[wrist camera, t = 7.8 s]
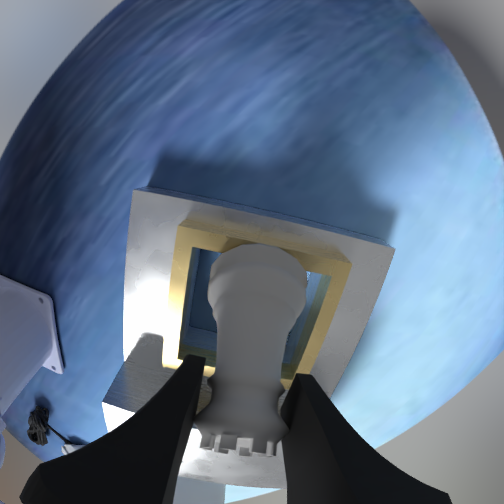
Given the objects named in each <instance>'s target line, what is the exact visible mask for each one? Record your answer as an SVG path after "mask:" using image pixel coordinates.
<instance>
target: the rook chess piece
mask: <svg viewBox="0 0 504 504" xmlns="http://www.w3.org/2000/svg"><path fill="white" fill-rule="evenodd" d="M306 287H307V273H306V271H305V270H304V268H303V267H302V265H301V264H300V263H299V261H298V260H297V259H296V258H294V257H293V256H292V255H290V254H289V253H287V252H285V251H283V250H282V249H280V248H278V247H275V246H271V245H266V244H262V243H256V244H243V245H240V246H238V247H236V248H234V249H231V250H229V251H227V252H225V253H223V254H221V255H220V256H219V257H218V258H217V259H216V261H215V262H214V263H213V264H212V265H211V272H210V280H209V284H208V292H207V294H208V301H209V303H210V305H211V307H212V309H213V314H212V315H213V317H214V319H215V321H216V322H217V331H218V333H217V360H216V366H215V371H214V374H213V375H212V376H211V377H209V378H208V379H207V385H208V387H209V389H210V390H211V400H210V403H209V404H208V405H207V406H206V407H205V408H203V409H202V410H201V411H200V412H199V413H198V414H197V415H196V416H194V417H193V421H194V423H195V425H196V427H197V428H198V430H199V432H200V434H201V435H202V437H201V443H200V448H202V449H204V450H211V451H212V448H214V452H217V453H222V454H228V452H229V450H235V451H236V447H240V450H239V456H246V457H252V455H253V453H259V454H258V457H272V456H276V453H277V444H278V443H279V442H280V441H281V440H282V439H283V437H284V436H285V435H286V434H287V433H288V432H289V431H290V430H289V428H288V427H287V425H286V424H285V422H284V421H283V419H282V418H281V416H280V415H279V413H278V406H277V405H278V401H279V398H280V397H281V396H282V395H283V394H284V392H285V388H284V386H283V384H282V383H281V382H280V380H281V365H282V361H283V356H284V351H285V346H286V341H287V336H288V334H289V331H290V330H291V329H292V328H293V326H294V324H295V323H296V319H297V318H298V317H299V315H300V314H301V312H302V310H303V309H304V306H305V303H306V290H305V289H306Z"/></svg>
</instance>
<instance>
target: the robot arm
mask: <svg viewBox="0 0 504 504" xmlns="http://www.w3.org/2000/svg"><path fill="white" fill-rule="evenodd" d="M42 299H43V300H42ZM205 362H206V358H205V357H200V356H196V355H191V354H188V355H186V356H185V358H184V360H183V361H182V363H181V364H180V366H179V367H178V368H177V370H176V371H175V372H174V374H173V375H172V376H171V377H170V379H169V380H168V381H167V382H166V383H165V384H164V385H163V387H162V388H161V389H160V390H159V391H158V392H157V393H156V394H155V395H154V396H153V397H152V398H151V399H150V400H149V401H148V402H147V403H146V404H145V405H144V406H143V407H142V408H140V409H139V410H138V411H137V412H136V413H135V414H133V415H132V416H131V417H130V418H128V419H127V420H126V421H124V422H123V423H122V424H120V425H119V426H117V427H116V428H114V429H113V430H111V431H110V432H108V433H107V434H105V435H104V436H102V437H100V438H99V439H97V440H95V441H93V442H91V443H89V444H87V445H85V446H83V447H82V448H80V449H78V450H76V451H73V452H71V453H69V454H66V455H64V456H61V457H58V458H55V459H53V460H50V461H47V462H44V463H41V464H40V465H39V466H38V467H37V468H36V469H35V471H34V472H33V473H32V475H31V476H30V477H29V479H28V481H27V483H26V485H25V487H24V489H23V491H22V493H21V495H20V500H21V502H22V503H23V504H173V500H174V494H175V489H176V483H177V478H178V474H179V470H180V466H181V463H182V459H183V456H184V453H185V450H186V447H187V443H188V440H189V437H190V434H191V430H192V427H193V424H194V421H193V417H194V416H196V411H197V406H198V401H199V396H200V390H201V384H202V379H203V373H204V367H205ZM41 366H44V367H46V368H48V369H50V370H52V371H54V372H56V373H59V374H62V373H63V372H64V367H63V362H62V358H61V353H60V348H59V342H58V336H57V330H56V324H55V317H54V309H53V301H52V299H51V297H50V296H49V295H47V294H44V293H42V292H39V291H37V290H34V289H32V288H29V287H27V286H25V285H22V284H20V283H18V282H15V281H13V280H11V279H9V278H6V277H4V276H2V275H0V469H1V467H2V464H3V461H4V456H5V440H4V437H3V435H2V434H1V433H2V431H3V430H4V428H5V427H6V424H5V423H4V422H3V420H2V419H1V417H2V415H3V414H4V413H5V411H6V410H7V409H8V407H9V406H10V405H11V403H12V402H13V401H14V399H15V398H16V397H17V396H18V394H19V393H20V392H21V391H22V389H23V388H24V387H25V386H26V384H27V383H28V382H29V381H30V379H31V378H32V377H33V376H34V375H35V373H36V372H37V371H38V370H39V369H40V367H41ZM280 416H281V418H282V419H283V421H284V422H285V424H286V425H287V427H288V428H289V430H290V431H289V432H288V433H287V434H286V435H285V436H284V437H283V439H282V440H281V443H282V451H283V458H284V465H285V473H286V481H287V504H452V502H451V499H450V497H449V495H448V493H445V492H443V491H440V490H438V489H436V488H433V487H431V486H429V485H426V484H424V483H422V482H420V481H419V480H417V479H415V478H413V477H411V476H410V475H408V474H406V473H405V472H403V471H402V470H400V469H399V468H397V467H396V466H394V465H393V464H392V463H390V462H389V461H388V460H386V459H385V458H384V457H382V456H381V455H380V454H379V453H378V452H376V450H374V449H373V448H372V447H371V446H370V445H369V444H368V443H367V442H366V441H365V440H364V439H363V438H362V437H361V436H360V435H359V434H358V433H357V432H356V431H355V430H354V429H353V427H352V426H351V425H350V424H349V423H348V422H347V421H346V419H345V418H344V417H343V416H342V414H341V413H340V412H339V411H338V409H337V408H336V407H335V406H334V404H333V403H332V402H331V400H330V399H329V397H328V396H327V395H326V393H325V392H324V391H323V389H322V388H321V386H320V385H319V383H318V382H317V381H316V379H315V378H314V377H313V375H311V374H302V373H296V375H295V377H294V379H293V382H292V384H291V386H290V388H289V391H288V393H287V395H286V397H285V400H284V402H283V404H282V406H281V408H280ZM0 504H5V503H3V502H2V501H1V500H0Z"/></svg>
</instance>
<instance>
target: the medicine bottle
mask: <svg viewBox="0 0 504 504" xmlns="http://www.w3.org/2000/svg"><path fill="white" fill-rule="evenodd" d="M225 486H226V484H220V483H213V482H207V481H201V480H196V479H191V478H186V477H181V476H178V478H177V483H176V489H175V494H174V500H173V504H224V500H225Z"/></svg>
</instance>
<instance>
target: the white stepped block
mask: <svg viewBox="0 0 504 504" xmlns="http://www.w3.org/2000/svg"><path fill="white" fill-rule="evenodd" d="M256 243H262V244H266V245H271V246H275V247H278V248H280V249H282V250H283V251H285V252H287V253H289V254H290V255H292V256H293V257H294V258H296V259H297V260H298V261H299V263H300V264H301V265H302V267H303V268H304V270H305V271H309V272H311V273H310V276H309V280H308V283H307V287H306V289H305V290H306V303H305V306H304V309H303V310H302V312H301V314H300V315H299V317H298V318H297V319H296V323H295V324H294V326H293V328H292V331H291V334H290V337H289V340H288V342H287V345H286V346H285V351H284V356H283V361H282V365H281V380H280V382H281V383H282V384H283V386H284V388H285V392H284V394H283V395H282V396H281V397H280V398H279V401H278V405H277V406H278V413H279V415H280V408H281V406H282V404H283V402H284V400H285V397H286V395H287V393H288V391H289V388H290V386H291V384H292V382H293V379H294V377H295V375H296V373H302V374H311V375H313V377H314V378H315V379H316V381H317V382H318V383H319V385H320V386H321V388H322V389H323V391H324V392H325V393H326V395H327V396H328V397H329V399H330V397H331V395H332V393H333V391H334V390H335V388H336V386H337V384H338V382H339V380H340V378H341V376H342V375H343V373H344V371H345V369H346V367H347V365H348V363H349V361H350V359H351V357H352V355H353V353H354V351H355V348H356V346H357V344H358V342H359V340H360V338H361V336H362V333H363V331H364V329H365V327H366V324H367V322H368V320H369V318H370V315H371V313H372V310H373V308H374V306H375V303H376V301H377V298H378V296H379V293H380V291H381V288H382V286H383V283H384V280H385V278H386V275H387V272H388V269H389V267H390V264H391V261H392V258H393V255H394V252H395V248H393V247H392V246H390V245H389V244H387V243H386V242H384V241H383V240H381V239H378V238H374V237H371V236H367V235H363V234H360V233H356V232H352V231H348V230H345V229H341V228H337V227H333V226H329V225H325V224H321V223H317V222H313V221H309V220H305V219H301V218H297V217H293V216H288V215H284V214H280V213H276V212H271V211H267V210H263V209H258V208H254V207H249V206H245V205H240V204H235V203H231V202H226V201H221V200H216V199H212V198H207V197H202V196H197V195H192V194H187V193H181V192H176V191H171V190H165V189H160V188H154V187H149V186H146V187H142V188H138V189H134V190H133V196H132V203H131V211H130V219H129V229H128V239H127V251H126V265H125V283H124V359H125V361H124V363H123V365H122V367H121V368H120V370H119V372H118V374H117V375H116V377H115V379H114V381H113V383H112V384H111V386H110V388H109V390H108V392H107V394H106V395H105V397H104V399H103V401H102V405H103V410H104V415H105V420H106V424H107V428H108V432H110V431H111V430H113V429H114V428H116V427H117V426H119V425H120V424H122V423H123V422H124V421H126V420H127V419H128V418H130V417H131V416H132V415H133V414H135V413H136V412H137V411H138V410H139V409H140V408H142V407H143V406H144V405H145V404H146V403H147V402H148V401H149V400H150V399H151V398H152V397H153V396H154V395H155V394H156V393H157V392H158V391H159V390H160V389H161V388H162V387H163V385H164V384H165V383H166V382H167V381H168V380H169V379H170V377H171V376H172V375H173V374H174V372H175V371H176V370H177V368H178V367H179V366H180V364H181V363H182V361H183V360H184V358H185V356H186V355H188V354H191V355H196V356H200V357H205V358H206V362H205V367H204V373H203V379H202V384H201V390H200V396H199V401H198V406H197V411H196V415H197V414H198V413H199V412H200V411H201V410H202V409H203V408H205V407H206V406H207V405H208V404H209V403H210V400H211V390H210V389H209V387H208V385H207V379H208V378H209V377H211V376H212V375H213V374H214V371H215V366H216V360H217V332H213V331H208V330H203V329H199V328H194V327H190V326H189V321H190V314H191V307H192V300H193V294H194V288H195V281H196V275H197V269H198V263H199V257H200V252H201V249H206V250H211V251H215V252H220V253H225V252H227V251H229V250H231V249H234V248H236V247H238V246H240V245H243V244H256ZM201 437H202V435H201V434H200V432H199V430H198V428H197V427H196V425H195V423H194V424H193V427H192V430H191V434H190V437H189V440H188V443H187V447H186V450H185V453H184V456H183V459H182V463H181V466H180V470H179V474H178V476H181V477H186V478H191V479H196V480H201V481H207V482H213V483H220V484H228V485H236V486H247V487H260V488H283V489H286V488H287V481H286V473H285V465H284V458H283V451H282V443H281V441H280V442H279V443H278V444H277V453H276V456H272V457H258V454H259V453H253V455H252V457H246V456H239V450H240V447H236V451H235V450H229V452H228V454H222V453H217V452H214V448H212V451H211V450H204V449H202V448H200V443H201Z"/></svg>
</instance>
